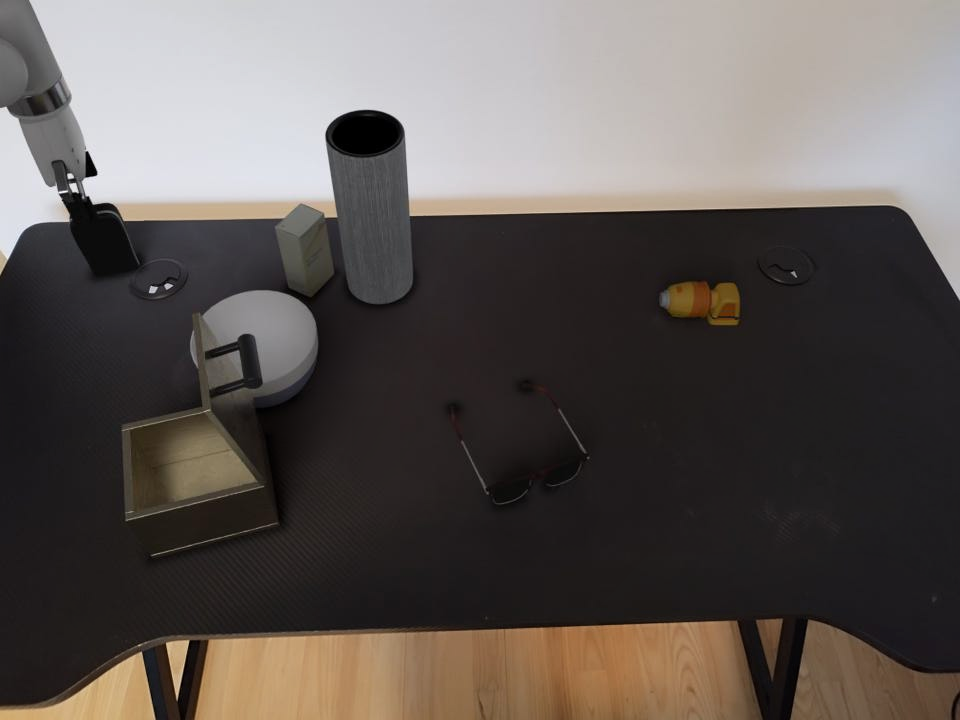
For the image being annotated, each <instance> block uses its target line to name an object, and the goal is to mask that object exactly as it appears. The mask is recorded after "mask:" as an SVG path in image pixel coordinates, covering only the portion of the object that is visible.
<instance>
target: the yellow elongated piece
mask: <svg viewBox="0 0 960 720" xmlns="http://www.w3.org/2000/svg"><path fill="white" fill-rule="evenodd" d="M658 302H659V306H660V307H662V308H663V309H665V310H666V311H667V313H669V314H670V316H671V317H674V318H675V317H676V318H683V319H684V318H702V319H704V318H706V319H707V322H708V323H709V324H710V325H712V326H737V325H738V324H739V321H740V311H741V297H740V293H739V290H738V287H737V285H736V284H735V282H719V283H718V284H717V285H716V286H715V287H714V288H713V289H711V288H710V286H709V284H708V283H707V281H704V280H702V281H695V280H694V281H684V282H680V283H675V284H670V285H669V286H668V287H667V289H665V290H663V291H661V292H660V293H659V296H658ZM709 310H710V312H711V314H712V317H714V318H717V317H718V316H735V317H739V319H738V320H735V319H734V318H717V319H715V320H714V319H712V317H711V316H710V313H709ZM673 314H674V315H673ZM679 315H680V316H679Z"/></svg>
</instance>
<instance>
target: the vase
mask: <svg viewBox="0 0 960 720" xmlns="http://www.w3.org/2000/svg"><path fill="white" fill-rule="evenodd" d="M324 138H325V147H326V152H327V158H328V159H327V160H328V166H329V173H330V179H331V185H332V193H333V199H334V205H335V212H336V218H337V226H338V230H339V238H340V245H341V252H342V257H343V263H344V270H345V271H344V272H345V277H346V282H347V287H348V289H349V291H350V293H351V295H353V296H354V297H355V298H356V299H358V300H359V301H362V302H364V303H367V304H373V305H387V304H390V303H393V302H396V301H398V300H400V299H402V298H404V296H406V295H407V294H408V293H409V291H410V290H411V288H412V286H413V282H414V267H413V265H414V263H413V250H412V231H411V216H410V215H411V214H410V198H409V197H410V196H409V195H410V194H409V180H408V179H409V178H408V163H407V162H408V161H407V145H406V144H407V143H406V130H405V127H404V126H403V124H402V122H401V121H400V120H399V119H397V118H396V117H395V116H394V115H392V114H390V113H388V112H386V111H385V112H384V111H381V110H377V109H357V110H351V111H348V112H346V113H343V114H340V115H339V116H338V117H335V118H334V119H333V120H332V121H331V122H330V123H329V124H328V125H327V127H326V129H325V133H324Z"/></svg>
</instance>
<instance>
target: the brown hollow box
mask: <svg viewBox="0 0 960 720" xmlns="http://www.w3.org/2000/svg"><path fill="white" fill-rule="evenodd" d="M255 412H256V410H255ZM256 418H257V424H258V430H259V436H260V442H261V448H262V455H263V461H264V467H265V473H266V479H267V483H265V484H262V485H260V484H259V483H258V481H257V480H256V479H255V477H254V476H253V475H252V474H251V472H250V471H249V470H248V469H247V467H246V466H245V465H244V463H243V462H242V461H241V460H240V458H239V457H238V456H237V455H236V453H235V452H234V451H233V449H232V448H231V447H230V446H229V444H228V443H227V442H226V441H225V439H224V438H223V437H222V435H221V434H220V433H219V432H218V430H217V429H216V428H215V426H214V425H213V424H212V423H211V421H210V420H209V419H208V418H207V416H206V415H205V414H204V412H203V406H199V407H195V408H190V409H185V410H182V411H177V412H171V413H168V414H164V415H159V416H155V417H150V418H145V419H141V420H136V421H131V422H127V423H123V424H121V443H122V444H121V445H122V470H123V497H124V498H123V499H124V516H125V517H124V518H125V522H126V523H127V525H128V526H129V528H130V529H131V531H132V532H133V533H134V535H135V536H136V537H137V539H138V540H139V542H140V543H141V544H142V546H143V547H144V548H145V550H146V551H147V552H148V554H149V555H150V557H151V558H152V559H157V558H162V557H166V556H169V555H173V554H177V553H181V552H184V551H189V550H192V549H197V548H201V547H204V546H209V545H212V544H216V543H219V542H224V541H228V540H231V539H236V538H239V537H243V536H246V535H247V536H248V535H251V534H255V533H258V532H262V531H267V530H271V529H274V528H278V527H280V526H281V523H280V517H279V512H278V508H277V506H278V505H277V499H276V494H275V488H274V482H273V475H272V470H271V464H270V459H269V453H268V452H269V451H268V446H267V440H266V438H265V434H264V431H263V429H262V426H261V423H260V420H259V417H258V415H257V412H256Z"/></svg>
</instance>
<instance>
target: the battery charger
mask: <svg viewBox="0 0 960 720" xmlns="http://www.w3.org/2000/svg"><path fill="white" fill-rule="evenodd" d="M93 206H94V208H95V210H96V212H97V214H98V216H99V220H98V221H96V222H90V223H84V224H79V225H76V224H74V222H73V220H72V218H71V216H70V215H69V218H68V228H69V231H70V234H71V236H72V238H73V240H74V242H75V243H76V244H75V245H77V247H78V249H79V251H80V252H81V254H82V256H83V257H84V259H85V261H86V262H87V264H88V266H89V268H90V270H91V272H92V275H93V277H95V278H99V277H100V278H101V277H106V276H111V275H116V274H121V273H127V272H131V271H134V270H139V268H140V261H139V258H138V256H137V254H136V252H135V250H134V247H133V245H132V242H131V239H130V237H129V234H128V230H127V226H126V223H125V221H124V219H123V216H122V214H121V212H120V210H119V208H118V207H117V206H116V205H114V204H113V203H111V202H101V203H100V202H99V203H95V204H94V203H93Z"/></svg>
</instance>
